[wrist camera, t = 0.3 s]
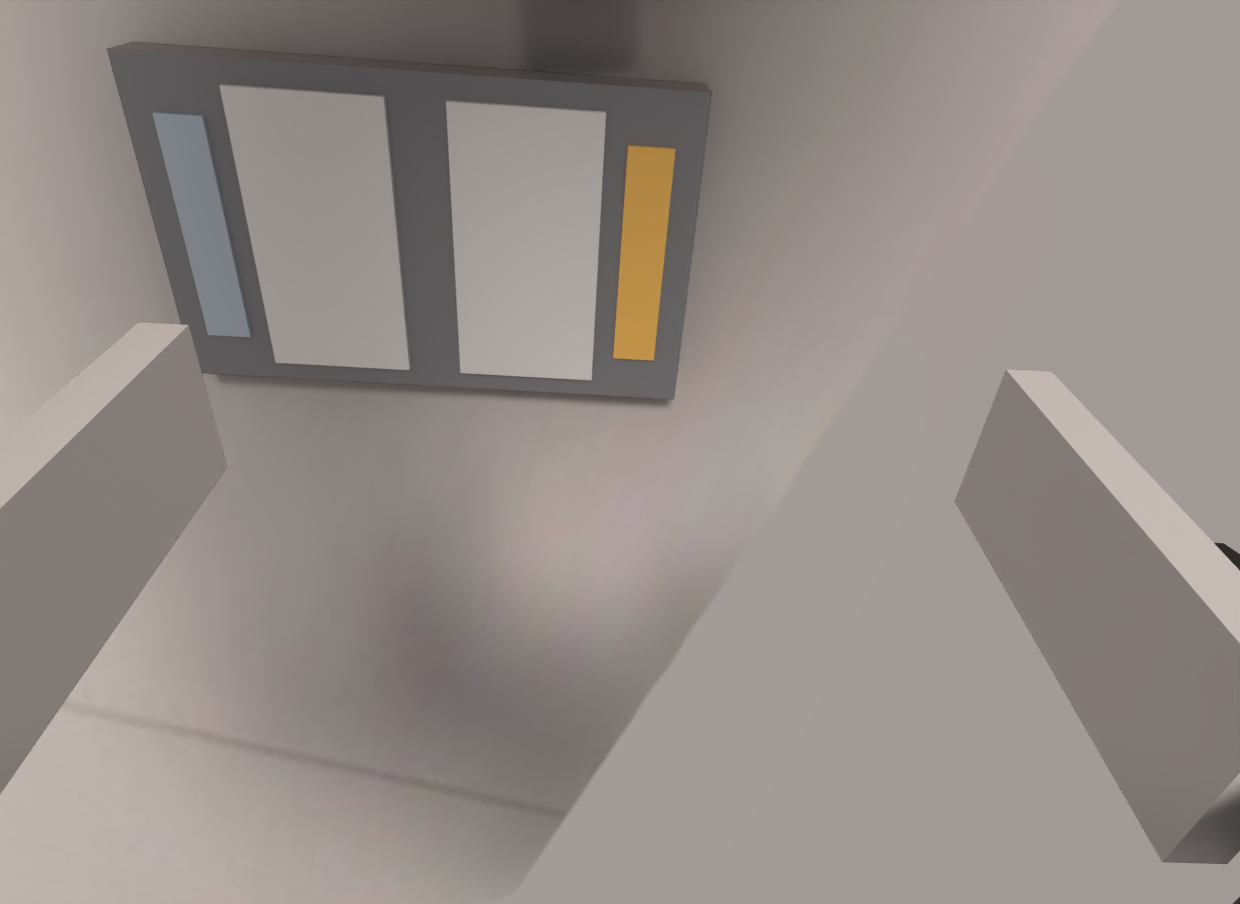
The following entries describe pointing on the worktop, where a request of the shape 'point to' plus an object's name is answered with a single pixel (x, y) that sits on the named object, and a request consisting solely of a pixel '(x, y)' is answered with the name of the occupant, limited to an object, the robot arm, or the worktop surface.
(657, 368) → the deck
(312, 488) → the worktop surface
